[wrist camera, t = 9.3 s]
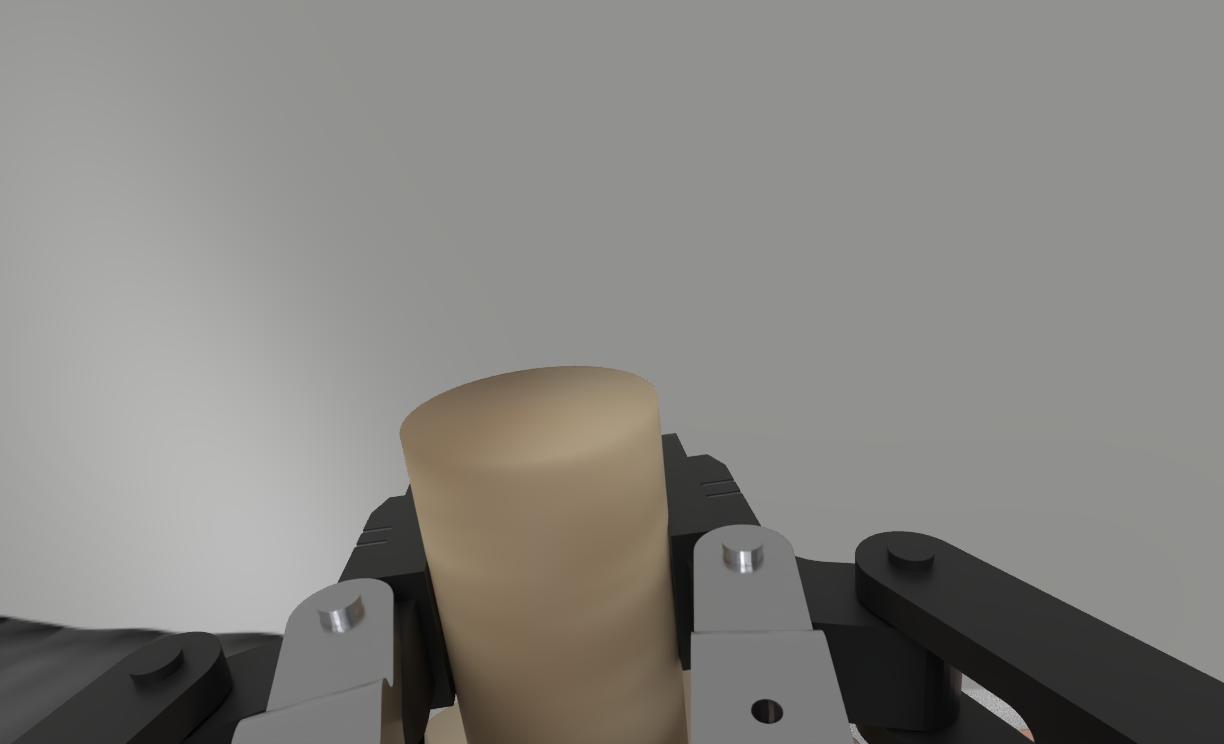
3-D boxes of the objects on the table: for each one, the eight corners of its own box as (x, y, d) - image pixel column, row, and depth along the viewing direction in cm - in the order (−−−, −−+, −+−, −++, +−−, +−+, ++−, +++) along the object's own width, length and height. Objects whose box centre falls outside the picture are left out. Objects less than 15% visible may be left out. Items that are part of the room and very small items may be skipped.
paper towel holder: (813, 647, 18) (807, 277, 15) (1253, 1470, 7) (1600, 653, 4) (359, 715, 18) (256, 343, 14) (9, 1746, 6) (-823, 1038, 3)
